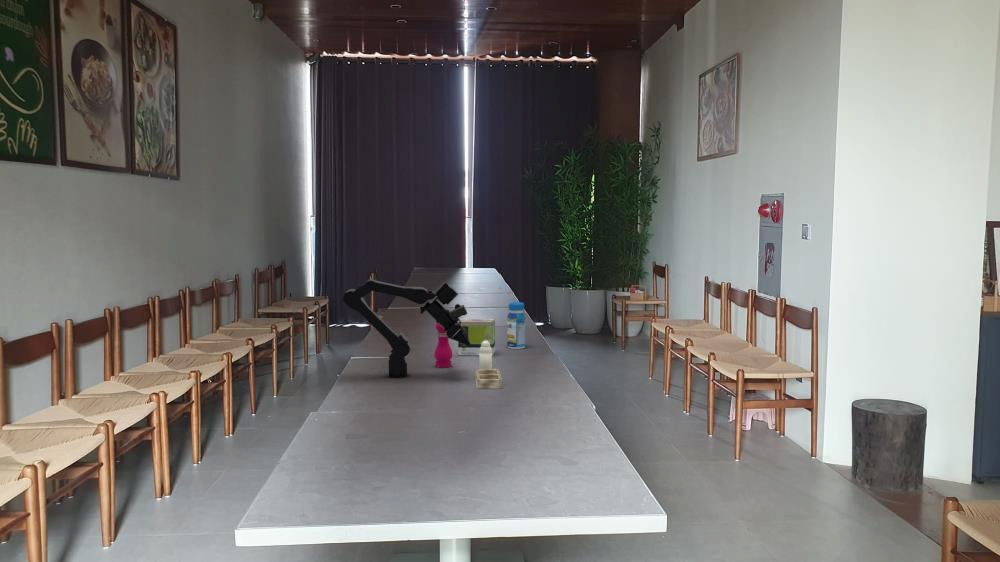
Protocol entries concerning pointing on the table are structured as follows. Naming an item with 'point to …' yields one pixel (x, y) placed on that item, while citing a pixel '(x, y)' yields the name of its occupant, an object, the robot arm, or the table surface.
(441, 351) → the pepper mill
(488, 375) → the divided wooden tray
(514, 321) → the beverage bottle
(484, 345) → the white pawn figure
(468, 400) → the table surface
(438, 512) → the table surface
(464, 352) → the tea box
